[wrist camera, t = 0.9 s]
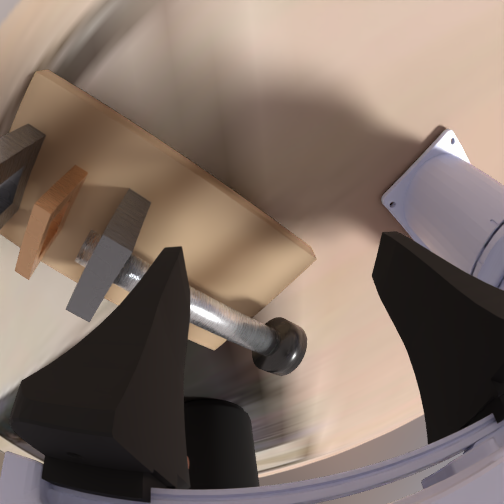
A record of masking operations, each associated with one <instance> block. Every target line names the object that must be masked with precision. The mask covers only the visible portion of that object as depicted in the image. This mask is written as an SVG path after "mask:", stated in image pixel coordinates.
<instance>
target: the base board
mask: <svg viewBox="0 0 504 504" xmlns="http://www.w3.org/2000/svg"><path fill="white" fill-rule="evenodd" d="M28 123H29V124H30V125H32V126H33V127H35V128H36V129H38V130H39V131H41V132H42V133H44V134H46V137H45V139H44V142H43V144H42V146H41V149H40V151H39V154H38V156H37V159H36V161H35V164H34V166H33V169H32V171H31V174H30V177H29V180H28V182H27V185H26V188H25V191H24V194H23V197H22V200H21V204H20V207H19V210H18V211H17V212H16V213H15V214H14V215H13V216H12V218H11V219H10V220H9V221H8V222H7V223H6V224H5V225H4V226H3V227H2V228H1V229H0V234H1V235H3V236H4V237H5V238H7V239H8V240H10V241H11V242H13V243H14V244H16V245H17V246H19V247H20V248H21V245H22V241H23V238H24V234H25V231H26V228H27V225H28V221H29V218H30V215H31V212H32V209H33V206H34V204H35V203H36V202H37V201H38V200H39V199H40V198H41V197H42V196H43V195H44V194H45V193H46V192H47V191H48V190H49V189H50V188H51V187H52V186H53V185H54V184H55V183H56V182H57V181H58V180H59V179H60V178H61V177H62V176H64V175H65V174H66V173H67V172H68V171H69V170H70V169H71V168H72V167H74V166H75V165H77V166H78V167H80V168H81V169H83V170H85V171H86V172H88V175H87V177H86V179H85V181H84V183H83V185H82V187H81V189H80V191H79V193H78V195H77V197H76V199H75V201H74V203H73V205H72V207H71V210H70V212H69V214H68V216H67V219H66V221H65V223H64V225H63V228H62V230H61V232H60V233H59V234H58V236H57V237H56V239H55V240H54V242H53V243H52V245H51V246H50V247H49V249H48V250H47V252H46V253H45V255H44V256H43V258H42V260H41V261H42V262H43V263H45V264H47V265H48V266H50V267H51V268H53V269H55V270H56V271H58V272H60V273H61V274H63V275H65V276H66V277H68V278H70V279H72V280H73V281H75V282H77V283H78V281H79V279H80V277H81V274H82V272H83V270H84V268H85V267H84V266H82V265H80V264H78V263H77V262H75V259H76V257H77V255H78V253H79V251H80V249H81V247H82V245H83V243H84V241H85V239H86V238H87V236H88V234H89V232H90V231H91V230H93V231H95V232H96V233H98V234H100V235H101V236H102V234H103V232H104V230H105V228H106V227H107V225H108V223H109V221H110V220H111V218H112V216H113V214H114V213H115V211H116V209H117V208H118V206H119V204H120V203H121V201H122V199H123V198H124V196H125V194H126V193H127V191H128V190H129V188H130V189H131V190H133V191H135V192H136V193H138V194H139V195H141V196H142V197H144V198H146V199H147V200H149V201H150V202H151V205H150V207H149V210H148V212H147V215H146V217H145V220H144V222H143V225H142V228H141V230H140V233H139V236H138V238H137V241H136V244H135V247H134V250H133V252H132V254H133V255H135V256H137V257H139V258H140V259H142V260H144V261H145V262H147V263H149V264H151V265H152V263H153V262H154V261H155V259H156V258H157V257H158V255H159V254H160V253H161V251H162V250H163V249H164V248H165V247H178V246H182V249H183V254H184V260H185V266H186V271H187V276H188V282H189V286H191V287H192V288H194V289H196V290H198V291H200V292H202V293H204V294H206V295H207V296H209V297H211V298H213V299H215V300H217V301H219V302H221V303H223V304H225V305H227V306H229V307H231V308H232V309H234V310H236V311H238V312H240V313H242V314H244V315H246V316H248V317H250V318H253V317H254V316H255V315H256V314H257V313H258V312H259V311H261V310H262V309H263V308H264V307H265V306H266V305H267V304H268V303H270V302H271V301H272V300H273V299H274V298H275V297H276V296H277V295H278V294H280V293H281V292H282V291H283V290H284V289H285V288H286V287H287V286H288V285H289V284H290V283H292V282H293V281H294V280H295V279H296V278H297V277H298V276H299V275H300V274H301V273H302V272H304V271H305V270H306V269H307V268H308V267H309V266H310V265H311V264H312V263H313V262H314V261H315V260H316V257H315V254H314V252H313V250H312V248H311V247H310V246H309V245H308V244H306V243H305V242H304V241H302V240H301V239H300V238H298V237H297V236H295V235H294V234H293V233H291V232H290V231H289V230H287V229H286V228H285V227H283V226H282V225H281V224H279V223H278V222H276V221H275V220H274V219H272V218H271V217H270V216H268V215H267V214H265V213H264V212H263V211H261V210H260V209H259V208H257V207H256V206H254V205H253V204H252V203H250V202H249V201H247V200H246V199H245V198H243V197H242V196H240V195H239V194H238V193H236V192H235V191H233V190H232V189H230V188H229V187H228V186H226V185H225V184H223V183H222V182H221V181H219V180H218V179H216V178H215V177H213V176H212V175H210V174H209V173H208V172H206V171H205V170H203V169H202V168H200V167H199V166H197V165H196V164H195V163H193V162H192V161H190V160H189V159H187V158H186V157H184V156H183V155H181V154H180V153H178V152H177V151H175V150H174V149H172V148H171V147H169V146H168V145H166V144H165V143H163V142H162V141H160V140H159V139H157V138H156V137H154V136H153V135H151V134H150V133H148V132H147V131H145V130H144V129H142V128H141V127H139V126H138V125H136V124H135V123H133V122H131V121H130V120H128V119H127V118H125V117H124V116H122V115H121V114H119V113H118V112H116V111H114V110H113V109H111V108H110V107H108V106H106V105H105V104H103V103H102V102H100V101H99V100H97V99H95V98H94V97H92V96H91V95H89V94H87V93H86V92H84V91H82V90H81V89H79V88H78V87H76V86H74V85H73V84H71V83H69V82H68V81H66V80H64V79H63V78H61V77H59V76H58V75H56V74H54V73H53V72H51V71H49V70H41V71H36V72H35V74H34V76H33V78H32V80H31V82H30V84H29V86H28V88H27V90H26V93H25V95H24V97H23V99H22V102H21V104H20V106H19V109H18V111H17V113H16V116H15V118H14V121H13V124H12V126H11V129H10V132H12V131H14V130H16V129H18V128H20V127H22V126H24V125H26V124H28ZM10 132H9V133H10ZM129 293H130V292H128V291H126V290H124V289H123V288H121V287H119V286H117V285H115V284H112V285H111V287H110V288H109V290H108V292H107V293H106V295H105V297H104V298H105V299H107V300H109V301H111V302H113V303H115V304H117V305H120V304H121V302H122V301H123V300H124V299H125V298H126V296H127V295H128V294H129ZM188 339H189V340H191V341H194V342H196V343H198V344H201V345H203V346H205V347H208V348H210V349H212V350H216V349H217V348H218V347H219V346H220V345H222V344H223V343H224V342H225V341H226V339H224V338H222V337H220V336H218V335H215V334H213V333H211V332H209V331H207V330H204V329H202V328H200V327H198V326H196V325H194V324H192V323H190V324H189V332H188Z"/></svg>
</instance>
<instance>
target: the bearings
mask: <svg viewBox="0 0 504 504" xmlns="http://www.w3.org/2000/svg"><path fill="white" fill-rule="evenodd" d="M45 137H46V134H44V133H42V132H41V131H39V130H38V129H36V128H35V127H33V126H32V125H30V124H29V123H28V124H26V125H24V126H22V127H20V128H18V129H16V130H14V131H12V132H10V133H8V134H6V135H4V136H2V137H0V229H1V228H2V227H3V226H4V225H5V224H6V223H7V222H8V221H9V220H10V219H11V218H12V216H13V215H14V214H15V213H16V212H17V211H18V210H19V207H20V204H21V200H22V197H23V194H24V191H25V188H26V185H27V182H28V180H29V177H30V174H31V171H32V169H33V166H34V164H35V161H36V159H37V156H38V154H39V151H40V149H41V146H42V144H43V142H44V139H45ZM87 175H88V172H86V171H85V170H83V169H81V168H80V167H78V166H77V165H75V166H74V167H72V168H71V169H70V170H69V171H68V172H67V173H66V174H65V175H64V176H62V177H61V178H60V179H59V180H58V181H57V182H56V183H55V184H54V185H53V186H52V187H51V188H50V189H49V190H48V191H47V192H46V193H45V194H44V195H43V196H42V197H41V198H40V199H39V200H38V201H37V202H36V203H35V204H34V206H33V209H32V212H31V215H30V218H29V221H28V225H27V228H26V231H25V234H24V238H23V241H22V245H21V248H20V252H19V256H18V260H17V264H16V268H15V271H16V272H17V273H19V274H20V275H22V276H23V277H25V278H27V279H28V280H29V279H30V277H31V275H32V274H33V272H34V270H35V269H36V267H37V266H38V264H39V263H40V261H41V260H42V258H43V256H44V255H45V253H46V252H47V250H48V249H49V247H50V246H51V245H52V243H53V242H54V240H55V239H56V237H57V236H58V234H59V233H60V232H61V230H62V228H63V225H64V223H65V221H66V219H67V216H68V214H69V212H70V210H71V207H72V205H73V203H74V201H75V199H76V197H77V195H78V193H79V191H80V189H81V187H82V185H83V183H84V181H85V179H86V177H87ZM150 205H151V202H150V201H149V200H147V199H146V198H144V197H142V196H141V195H139V194H138V193H136V192H135V191H133V190H131V189H130V188H129V190H128V191H127V193H126V194H125V196H124V198H123V199H122V201H121V203H120V204H119V206H118V208H117V209H116V211H115V213H114V214H113V216H112V218H111V220H110V221H109V223H108V225H107V227H106V228H105V230H104V232H103V234H102V236H101V238H100V240H99V242H98V244H97V246H96V248H95V250H94V252H93V254H92V256H91V257H90V259H89V261H88V263H87V265H86V267H85V268H84V270H83V272H82V274H81V277H80V279H79V281H78V283H77V285H76V287H75V289H74V292H73V294H72V296H71V298H70V301H69V303H68V305H67V308H66V310H68V311H69V312H71V313H73V314H75V315H77V316H79V317H80V318H82V319H84V320H86V321H88V322H90V321H91V319H92V317H93V315H94V314H95V312H96V310H97V309H98V307H99V305H100V303H101V302H102V300H103V298H104V297H105V295H106V293H107V292H108V290H109V288H110V287H111V285H112V284H113V282H114V280H115V279H116V277H117V276H118V274H119V272H120V271H121V269H122V268H123V266H124V264H125V263H126V261H127V260H128V258H129V257H130V255H131V254H132V252H133V250H134V247H135V244H136V241H137V238H138V236H139V233H140V230H141V228H142V225H143V222H144V220H145V217H146V215H147V212H148V210H149V207H150Z"/></svg>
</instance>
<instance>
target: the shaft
mask: <svg viewBox="0 0 504 504" xmlns="http://www.w3.org/2000/svg"><path fill="white" fill-rule="evenodd" d="M100 238H101V235H100V234H98V233H96V232H95V231H93V230H91V231H90V232H89V234H88V236H87V238H86V239H85V241H84V243H83V245H82V247H81V249H80V251H79V253H78V255H77V257H76V259H75V262H77V263H78V264H80V265H82V266H84V267H86V265H87V263H88V261H89V259H90V257H91V256H92V254H93V252H94V250H95V248H96V246H97V244H98V242H99V240H100ZM150 266H151V264H149V263H147V262H145V261H144V260H142V259H140V258H139V257H137V256H135V255H133V254H131V255H130V257H129V258H128V260H127V261H126V263H125V264H124V266H123V268H122V269H121V271H120V272H119V274H118V276H117V277H116V279H115V280H114V282H113V284H115V285H117V286H119V287H121V288H123V289H124V290H126V291H128V292H131V291H132V289H133V288H134V287H135V286H136V284H137V283H138V282H139V281H140V279H141V278H142V277H143V275H144V274H145V273H146V271H147V270H148V269H149V267H150ZM189 287H190V323H192V324H194V325H196V326H198V327H200V328H202V329H204V330H207V331H209V332H211V333H213V334H215V335H218V336H220V337H222V338H224V339H226V340H229V341H231V342H233V343H236V344H238V345H240V346H243V347H245V348H247V349H250V350H252V357H253V361H254V364H255V365H256V366H257V367H258V368H259V369H262V370H264V371H267V372H270V373H273V374H276V375H279V376H283V375H287V374H289V373H291V372H292V371H293V370H295V369H296V368H297V367H298V365H299V364H300V363H301V361H302V359H303V357H304V355H305V352H306V348H307V337H306V334H305V332H304V330H303V329H302V328H301V327H299V326H297V325H296V324H294V323H292V322H290V321H288V320H286V319H284V318H281V317H278V318H274V319H272V320H270V321H268V322H267V323H266V324H265V325H264V324H262V323H260V322H258V321H256V320H254V319H252V318H250V317H248V316H246V315H244V314H242V313H240V312H238V311H236V310H234V309H232V308H231V307H229V306H227V305H225V304H223V303H221V302H219V301H217V300H215V299H213V298H211V297H209V296H207V295H206V294H204V293H202V292H200V291H198V290H196V289H194V288H192V287H191V286H189Z"/></svg>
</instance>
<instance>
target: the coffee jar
mask: <svg viewBox="0 0 504 504" xmlns="http://www.w3.org/2000/svg"><path fill="white" fill-rule="evenodd" d="M184 421H185V438H186V451H187V461H188V470H189V479H190V486H191V487H190V488H189V489H188V490H211V489H235V488H249V487H260V486H259V480H258V472H257V464H256V457H255V449H254V441H253V434H252V426H251V420H250V418H249V416H248V414H247V413H246V412H245V411H244V410H243V409H242V408H241V407H240V406H238V405H236V404H233V403H231V402H227V401H221V400H196V401H191V402H187V403H184Z"/></svg>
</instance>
